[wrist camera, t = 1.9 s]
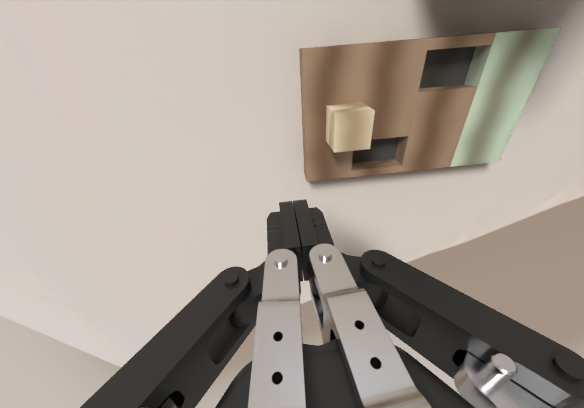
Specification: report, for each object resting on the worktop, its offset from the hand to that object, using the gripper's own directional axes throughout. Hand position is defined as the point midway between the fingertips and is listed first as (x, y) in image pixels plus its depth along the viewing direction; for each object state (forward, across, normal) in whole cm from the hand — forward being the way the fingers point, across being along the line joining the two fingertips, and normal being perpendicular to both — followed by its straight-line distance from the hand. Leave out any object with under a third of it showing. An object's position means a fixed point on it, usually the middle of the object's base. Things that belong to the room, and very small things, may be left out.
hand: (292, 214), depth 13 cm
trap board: (+19, -17, 0) cm, 26 cm away
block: (+17, -8, 0) cm, 19 cm away
